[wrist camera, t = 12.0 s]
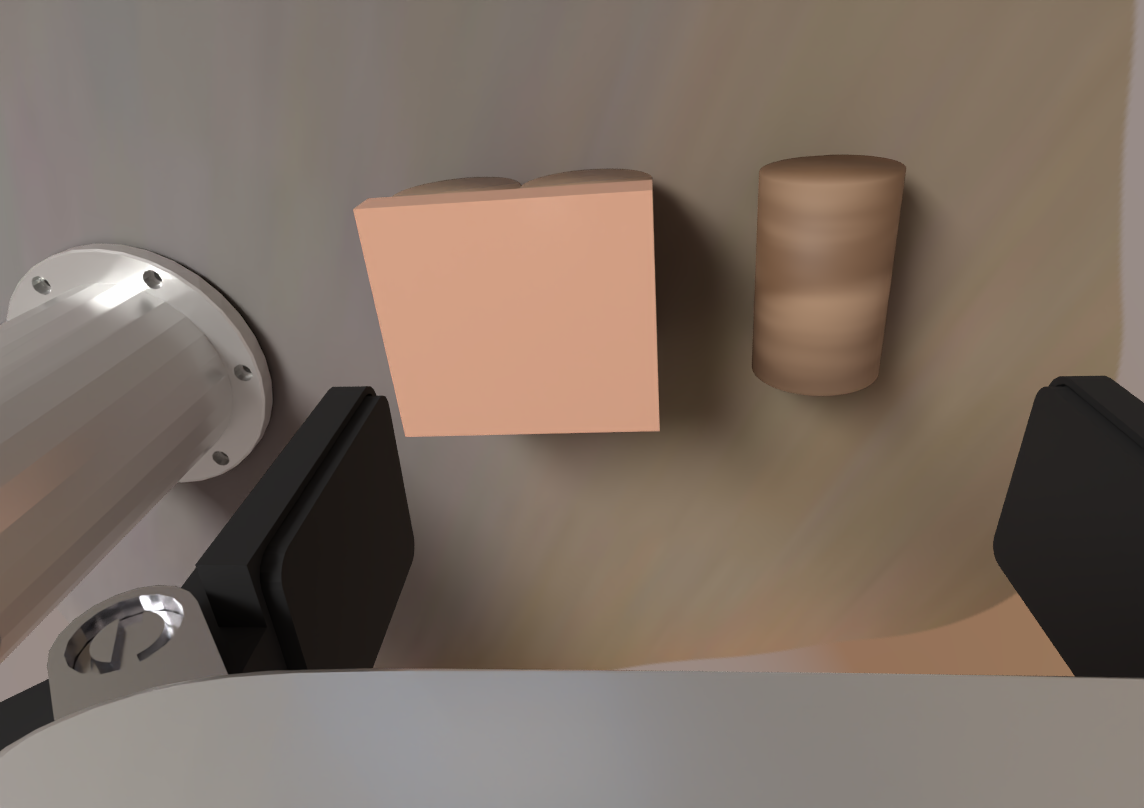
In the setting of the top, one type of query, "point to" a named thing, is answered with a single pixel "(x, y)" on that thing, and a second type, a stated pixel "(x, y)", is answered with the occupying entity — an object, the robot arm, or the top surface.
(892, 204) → the roller
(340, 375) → the top surface
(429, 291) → the slab
